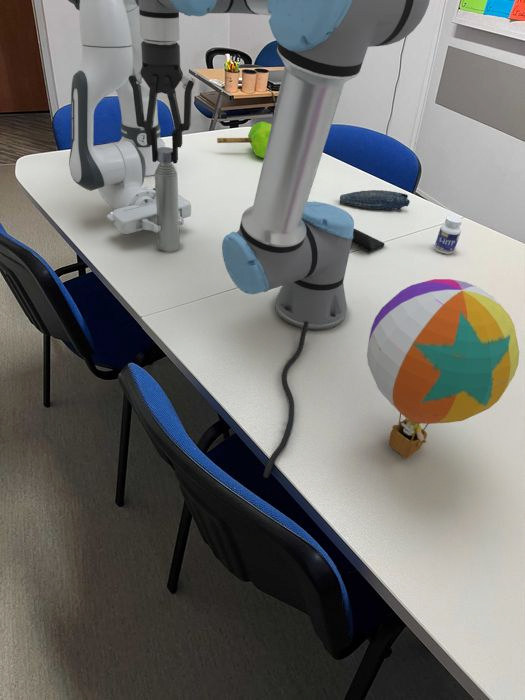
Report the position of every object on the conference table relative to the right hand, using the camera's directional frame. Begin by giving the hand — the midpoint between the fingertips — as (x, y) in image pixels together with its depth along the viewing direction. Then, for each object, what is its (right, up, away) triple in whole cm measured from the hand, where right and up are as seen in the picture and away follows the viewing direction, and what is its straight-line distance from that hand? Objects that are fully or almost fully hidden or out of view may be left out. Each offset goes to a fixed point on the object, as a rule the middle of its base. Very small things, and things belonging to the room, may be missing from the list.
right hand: (165, 160), depth 117 cm
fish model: (+56, +2, +43) cm, 71 cm away
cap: (0, +2, -1) cm, 2 cm away
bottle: (-2, -17, +14) cm, 22 cm away
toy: (+45, -59, -33) cm, 81 cm away
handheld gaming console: (+47, -14, +23) cm, 55 cm away
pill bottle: (+71, -16, +24) cm, 76 cm away
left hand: (-1, -13, +9) cm, 16 cm away
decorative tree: (+20, +29, +73) cm, 81 cm away
